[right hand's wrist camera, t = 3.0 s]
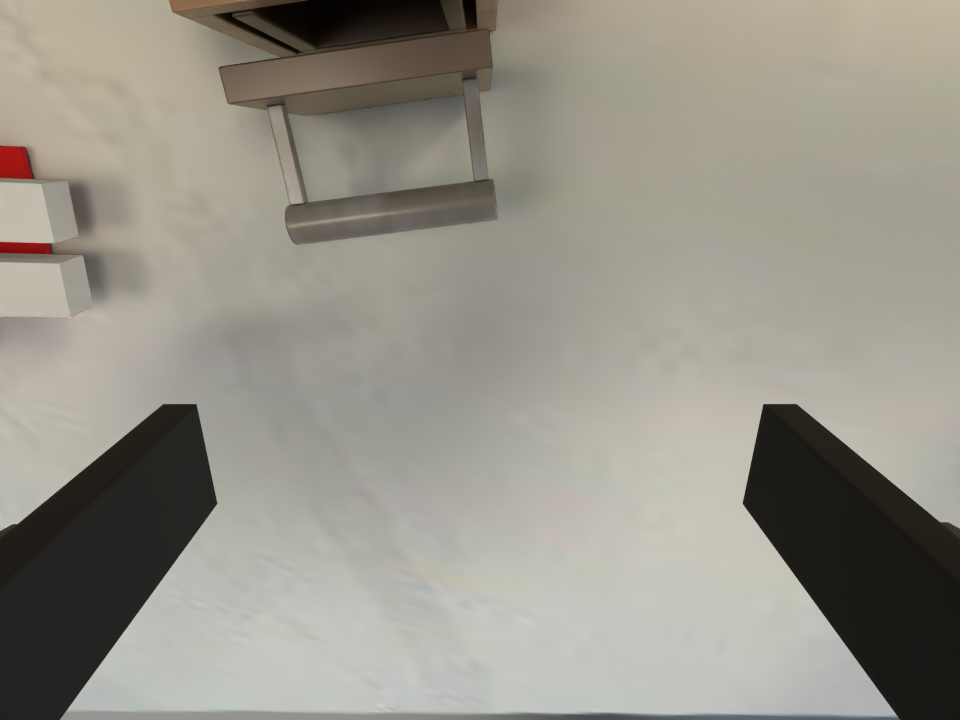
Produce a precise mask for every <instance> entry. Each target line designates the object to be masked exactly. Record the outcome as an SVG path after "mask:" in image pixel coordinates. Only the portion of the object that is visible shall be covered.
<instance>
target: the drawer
mask: <svg viewBox="0 0 960 720" xmlns="http://www.w3.org/2000/svg"><path fill="white" fill-rule="evenodd" d="M232 16H233V17H234V18H236V19H238V20H240V21H242V22H244V23H246V24H248V25H250V26H252V27H254V28H256V29H258V30H260V31H262V32H264V33H266V34H268V35H270V36H272V37H274V38H276V39H278V40H280V41H282V42H284V43H286V44H288V45H290V46H292V47H294V48H296V49H298V50H300V51H302V52H304V53H306V54H304V55H297V56H290V57H283V58H276V59H269V60H262V61H255V62H248V63H241V64H234V65H227V66H220V67H219V72H220V76H221V79H222V83H223V87H224V91H225V95H226V98H227V102H228V104H231V105H237V106H244V107H250V108H257V109H263V110H268V114H269V118H270V122H271V127H272V131H273V135H274V139H275V143H276V147H277V151H278V156H279V160H280V164H281V168H282V172H283V176H284V181H285V185H286V189H287V193H288V197H289V201H290V205H288V206H287V207H286V210H285V222H286V227H287V231H288V234H289V236H290V238H291V240H292V242H293V243H294V244H296V245H300V244H308V243H316V242H324V241H332V240H340V239H348V238H356V237H364V236H372V235H380V234H388V233H396V232H404V231H412V230H420V229H428V228H436V227H444V226H452V225H460V224H468V223H476V222H484V221H492V220H497V219H498V215H497V205H496V196H495V187H494V180H493V179H488V169H487V160H486V151H485V142H484V133H483V124H482V115H481V106H480V97H479V92H483V91H489V90H490V86H491V76H492V67H493V64H492V54H491V45H490V35H489V29H487V28H486V29H479V30H472V31H466V21H465V12H464V3H463V0H307V1H300V2H294V3H287V4H280V5H273V6H267V7H260V8H253V9H246V10H240V11H233V12H232ZM462 31H465V32H462ZM455 32H458V33H455ZM448 33H451V34H448ZM441 34H444V35H441ZM434 35H437V36H434ZM427 36H430V37H427ZM420 37H423V38H420ZM413 38H416V39H413ZM406 39H409V40H406ZM399 40H402V41H399ZM392 41H395V42H392ZM385 42H388V43H385ZM378 43H381V44H378ZM371 44H374V45H371ZM364 45H367V46H364ZM357 46H360V47H357ZM350 47H353V48H350ZM343 48H346V49H343ZM336 49H339V50H336ZM329 50H332V51H329ZM322 51H325V52H322ZM315 52H318V53H315ZM308 53H311V54H308ZM461 94H464V102H465V110H466V119H467V127H468V135H469V143H470V152H471V160H472V168H473V177H474V181H472V182H464V183H456V184H449V185H441V186H433V187H425V188H417V189H410V190H402V191H394V192H386V193H379V194H371V195H363V196H355V197H347V198H340V199H332V200H324V201H316V202H309V203H306V202H308V200H307V195H306V191H305V187H304V182H303V178H302V173H301V169H300V165H299V160H298V156H297V152H296V147H295V143H294V138H293V134H292V130H291V125H290V121H289V117H288V113H290V114H296V115H303V116H308V115H315V114H322V113H330V112H337V111H344V110H352V109H359V108H366V107H373V106H381V105H388V104H395V103H403V102H410V101H417V100H425V99H432V98H439V97H446V96H454V95H461Z"/></svg>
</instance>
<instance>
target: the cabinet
mask: <svg viewBox="0 0 960 720" xmlns="http://www.w3.org/2000/svg"><path fill="white" fill-rule="evenodd" d="M169 1H170V5H171V9H172V11H173V13H176V14H178V15H180V16H183V17H185V18H188V19H190V20H193V21H195V22H198V23H200V24H202V25H205V26H207V27H209V28H212V29H214V30H217V31H219V32H221V33H224V34H226V35H228V36H231V37H233V38H236V39H238V40H240V41H243V42H245V43H247V44H250V45H252V46H255V47H257V48H259V49H262V50H264V51H266V52H269V53H271V54H274V55H276V56H278V57H280V58H283V57H290V56H297V55H304V54H306V53H304V52H302V51H300V50H298V49H296V48H294V47H292V46H290V45H288V44H286V43H284V42H282V41H280V40H278V39H276V38H274V37H272V36H270V35H268V34H266V33H264V32H262V31H260V30H258V29H256V28H254V27H252V26H250V25H248V24H246V23H244V22H242V21H240V20H238V19H236V18H234V17H233V16H232V12H233V11H240V10H246V9H253V8H260V7H267V6H273V5H280V4H287V3H294V2H300V1H307V0H169ZM498 1H499V0H463V3H464V12H465V21H466V31H472V30H479V29H486V28H487V29H489V31H493V30H495V29H496V21H497V11H498ZM462 32H465V31H462ZM455 33H458V32H455ZM448 34H451V33H448ZM441 35H444V34H441ZM434 36H437V35H434ZM427 37H430V36H427ZM420 38H423V37H420ZM413 39H416V38H413ZM406 40H409V39H406ZM399 41H402V40H399ZM392 42H395V41H392ZM385 43H388V42H385ZM378 44H381V43H378ZM371 45H374V44H371ZM364 46H367V45H364ZM357 47H360V46H357ZM350 48H353V47H350ZM343 49H346V48H343ZM336 50H339V49H336ZM329 51H332V50H329ZM322 52H325V51H322ZM315 53H318V52H315ZM308 54H311V53H308Z"/></svg>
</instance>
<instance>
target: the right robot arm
mask: <svg viewBox="0 0 960 720" xmlns="http://www.w3.org/2000/svg"><path fill="white" fill-rule="evenodd" d="M216 505H217V500H216V495H215V490H214V486H213V481H212V476H211V471H210V467H209V462H208V457H207V452H206V447H205V443H204V438H203V433H202V428H201V423H200V419H199V414H198V409H197V404H163V405H162V406H161V407H159V408H158V409H157V410H156V411H155V412H153V413H152V414H151V415H150V416H149V417H147V418H146V419H145V420H144V421H142V422H141V423H140V424H139V425H138V426H136V427H135V428H134V429H133V430H132V431H130V432H129V433H128V434H127V435H125V436H124V437H123V438H122V439H121V440H119V441H118V442H117V443H116V444H115V445H113V446H112V447H111V448H110V449H108V450H107V451H106V452H105V453H104V454H102V455H101V456H100V457H99V458H98V459H96V460H95V461H94V462H93V463H91V464H90V465H89V466H88V467H87V468H85V469H84V470H83V471H82V472H81V473H79V474H78V475H77V476H76V477H74V478H73V479H72V480H71V481H70V482H68V483H67V484H66V485H65V486H64V487H62V488H61V489H60V490H59V491H57V492H56V493H55V494H54V495H53V496H51V497H50V498H49V499H48V500H47V501H45V502H44V503H43V504H42V505H40V506H39V507H38V508H37V509H36V510H34V511H33V512H32V513H31V514H30V515H28V516H27V517H26V518H25V519H23V520H22V521H21V522H20V523H19V524H13V525H11V526H9V527H7V528H5V529H3V530H1V531H0V720H60V719H61V717H62V716H63V714H64V713H65V712H66V710H67V709H68V708H69V706H70V705H71V704H72V702H73V701H74V699H75V698H76V697H77V695H78V694H79V693H80V691H81V690H82V689H83V687H84V686H85V684H86V683H87V682H88V680H89V679H90V678H91V676H92V675H93V673H94V672H95V671H96V669H97V668H98V667H99V665H100V664H101V662H102V661H103V660H104V658H105V657H106V656H107V654H108V653H109V651H110V650H111V649H112V647H113V646H114V645H115V643H116V642H117V641H118V639H119V638H120V636H121V635H122V634H123V632H124V631H125V630H126V628H127V627H128V625H129V624H130V623H131V621H132V620H133V619H134V617H135V616H136V614H137V613H138V612H139V610H140V609H141V608H142V606H143V605H144V603H145V602H146V601H147V599H148V598H149V597H150V595H151V594H152V593H153V591H154V590H155V588H156V587H157V586H158V584H159V583H160V582H161V580H162V579H163V577H164V576H165V575H166V573H167V572H168V571H169V569H170V568H171V566H172V565H173V564H174V562H175V561H176V560H177V558H178V557H179V556H180V554H181V553H182V551H183V550H184V549H185V547H186V546H187V545H188V543H189V542H190V540H191V539H192V538H193V536H194V535H195V534H196V532H197V531H198V529H199V528H200V527H201V525H202V524H203V523H204V521H205V520H206V518H207V517H208V516H209V514H210V513H211V512H212V510H213V509H214V508H215V506H216ZM743 505H744V506H745V508H746V509H747V510H748V512H749V513H750V514H751V516H752V517H753V518H754V520H755V521H756V523H757V524H758V525H759V527H760V528H761V529H762V531H763V532H764V534H765V535H766V536H767V538H768V539H769V540H770V542H771V543H772V545H773V546H774V547H775V549H776V550H777V551H778V553H779V554H780V556H781V557H782V558H783V560H784V561H785V562H786V564H787V565H788V566H789V568H790V569H791V571H792V572H793V573H794V575H795V576H796V577H797V579H798V580H799V582H800V583H801V584H802V586H803V587H804V588H805V590H806V591H807V593H808V594H809V595H810V597H811V598H812V599H813V601H814V602H815V603H816V605H817V606H818V608H819V609H820V610H821V612H822V613H823V614H824V616H825V617H826V619H827V620H828V621H829V623H830V624H831V625H832V627H833V628H834V630H835V631H836V632H837V634H838V635H839V636H840V638H841V639H842V641H843V642H844V643H845V645H846V646H847V647H848V649H849V650H850V651H851V653H852V654H853V656H854V657H855V658H856V660H857V661H858V662H859V664H860V665H861V667H862V668H863V669H864V671H865V672H866V673H867V675H868V676H869V678H870V679H871V680H872V682H873V683H874V684H875V686H876V687H877V689H878V690H879V691H880V693H881V694H882V695H883V697H884V698H885V699H886V701H887V702H888V704H889V705H890V706H891V708H892V709H893V710H894V712H895V713H896V715H897V716H898V717H899V719H900V720H960V529H959V528H957V527H955V526H954V525H952V524H950V523H948V522H939V521H938V520H937V519H935V518H934V517H933V516H932V515H930V514H929V513H928V512H927V511H926V510H924V509H923V508H922V507H921V506H920V505H918V504H917V503H916V502H915V501H913V500H912V499H911V498H910V497H909V496H907V495H906V494H905V493H904V492H903V491H901V490H900V489H899V488H898V487H896V486H895V485H894V484H893V483H892V482H890V481H889V480H888V479H887V478H886V477H884V476H883V475H882V474H881V473H879V472H878V471H877V470H876V469H875V468H873V467H872V466H871V465H870V464H869V463H867V462H866V461H865V460H864V459H862V458H861V457H860V456H859V455H858V454H856V453H855V452H854V451H853V450H852V449H850V448H849V447H848V446H847V445H845V444H844V443H843V442H842V441H841V440H839V439H838V438H837V437H836V436H835V435H833V434H832V433H831V432H830V431H828V430H827V429H826V428H825V427H824V426H822V425H821V424H820V423H819V422H818V421H816V420H815V419H814V418H813V417H811V416H810V415H809V414H808V413H807V412H805V411H804V410H803V409H802V408H801V407H799V406H798V405H797V404H763V409H762V414H761V419H760V423H759V428H758V433H757V438H756V443H755V447H754V452H753V457H752V462H751V467H750V471H749V476H748V481H747V486H746V490H745V495H744V500H743Z"/></svg>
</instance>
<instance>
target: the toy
mask: <svg viewBox="0 0 960 720" xmlns="http://www.w3.org/2000/svg"><path fill="white" fill-rule="evenodd" d="M78 236H79V234H78V229H77V224H76V220H75V215H74V210H73V205H72V200H71V195H70V190H69V186H68V181H58V180H35V179H33V178H32V174H31V170H30V166H29V162H28V158H27V154H26V150H25V147H12V146H0V317H73V316H75V315H76V314H78V313H80V312H82V311H84V310H86V309H88V308H90V307H92V306H93V302H92V297H91V292H90V288H89V283H88V278H87V273H86V268H85V263H84V258H83V255H55V254H52V253H51V249H50V245H49V243H57V242H61V241H64V240H68V239H71V238H75V237H78Z"/></svg>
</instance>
